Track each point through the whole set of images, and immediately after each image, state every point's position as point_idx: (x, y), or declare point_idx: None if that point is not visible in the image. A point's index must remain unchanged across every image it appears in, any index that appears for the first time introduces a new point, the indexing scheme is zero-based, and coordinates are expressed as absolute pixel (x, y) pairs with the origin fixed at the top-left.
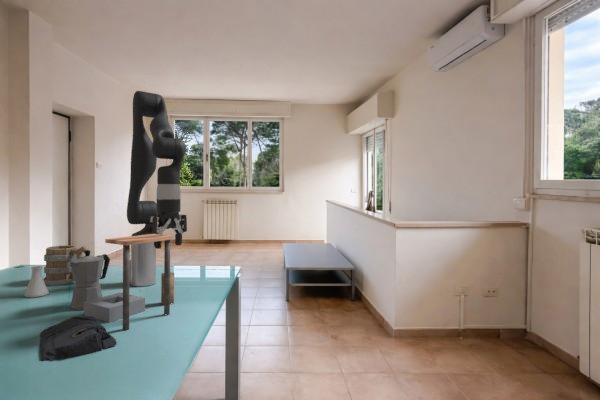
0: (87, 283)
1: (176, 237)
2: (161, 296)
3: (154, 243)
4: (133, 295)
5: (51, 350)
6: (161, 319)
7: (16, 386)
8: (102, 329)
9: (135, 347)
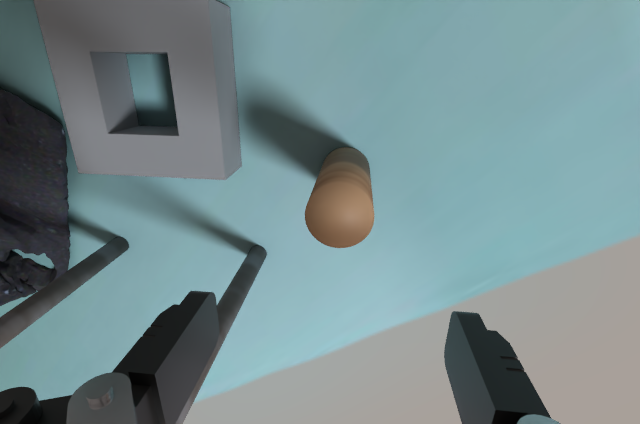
0: None
1: (474, 389)
2: (321, 167)
3: (151, 331)
4: (218, 106)
5: None
6: (222, 268)
7: None
8: (56, 226)
9: (91, 333)
